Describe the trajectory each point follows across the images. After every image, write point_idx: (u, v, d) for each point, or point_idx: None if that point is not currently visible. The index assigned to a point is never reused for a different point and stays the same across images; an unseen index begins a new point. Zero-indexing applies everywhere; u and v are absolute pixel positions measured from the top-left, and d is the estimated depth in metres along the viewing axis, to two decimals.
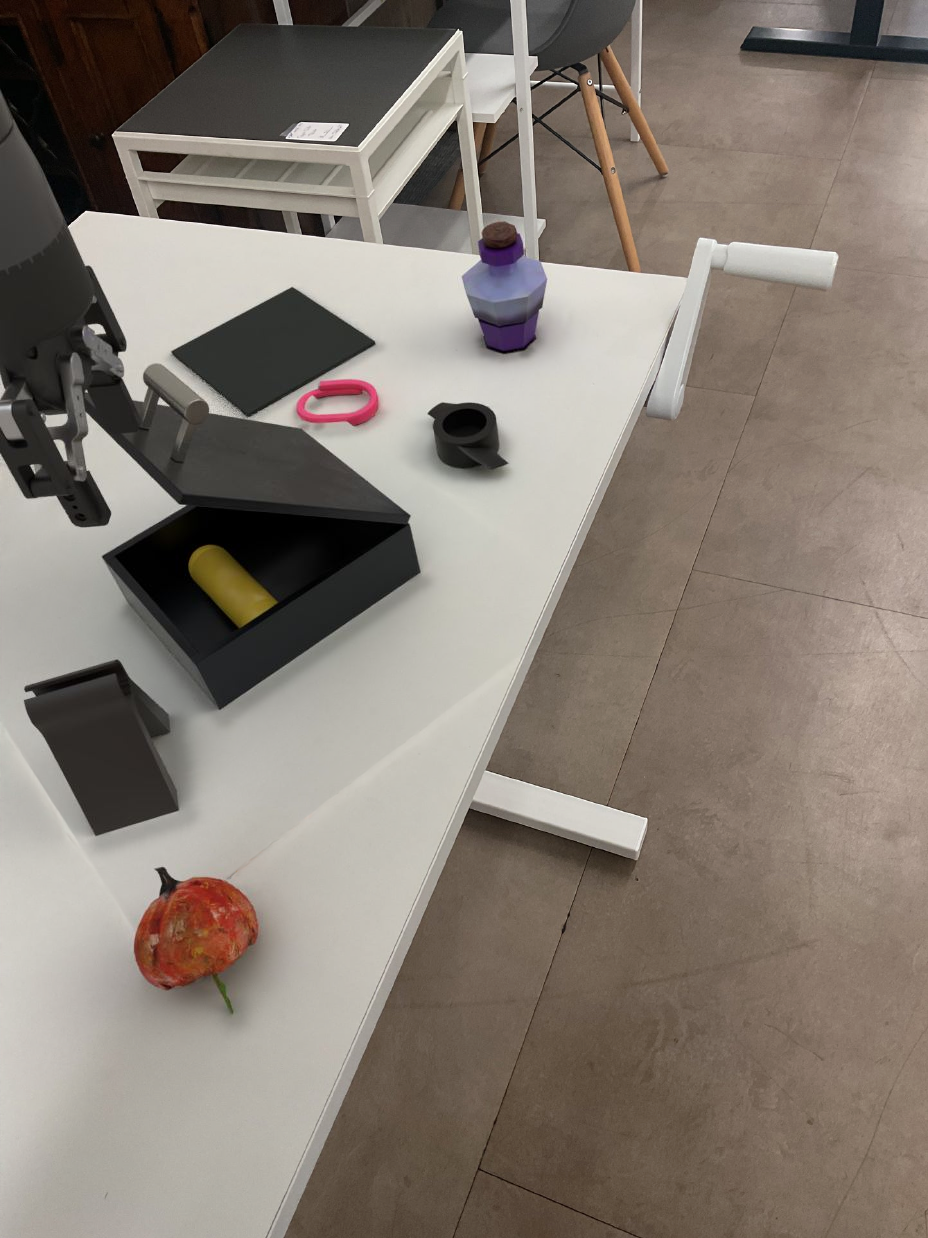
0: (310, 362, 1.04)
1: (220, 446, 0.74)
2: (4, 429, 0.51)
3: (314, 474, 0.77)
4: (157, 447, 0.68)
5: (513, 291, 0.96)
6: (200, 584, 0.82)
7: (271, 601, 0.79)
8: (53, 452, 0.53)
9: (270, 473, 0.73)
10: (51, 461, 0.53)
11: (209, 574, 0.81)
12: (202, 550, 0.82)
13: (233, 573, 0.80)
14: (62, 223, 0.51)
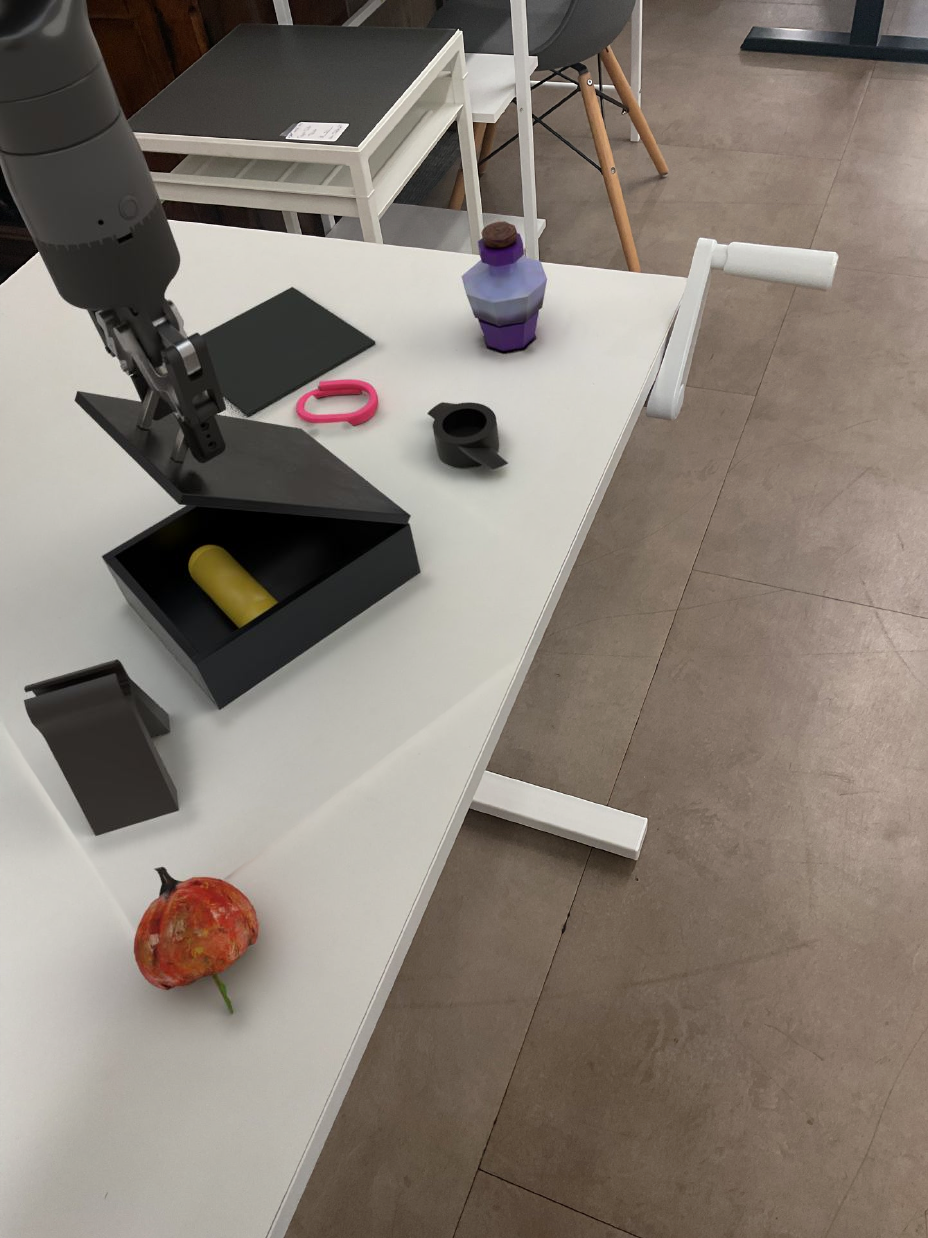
0: (310, 362, 1.04)
1: None
2: (187, 365, 0.59)
3: (314, 474, 0.77)
4: (157, 447, 0.68)
5: (513, 291, 0.96)
6: (200, 584, 0.82)
7: (271, 601, 0.79)
8: None
9: (270, 473, 0.73)
10: (217, 382, 0.62)
11: (209, 574, 0.81)
12: (202, 550, 0.82)
13: (233, 573, 0.80)
14: None
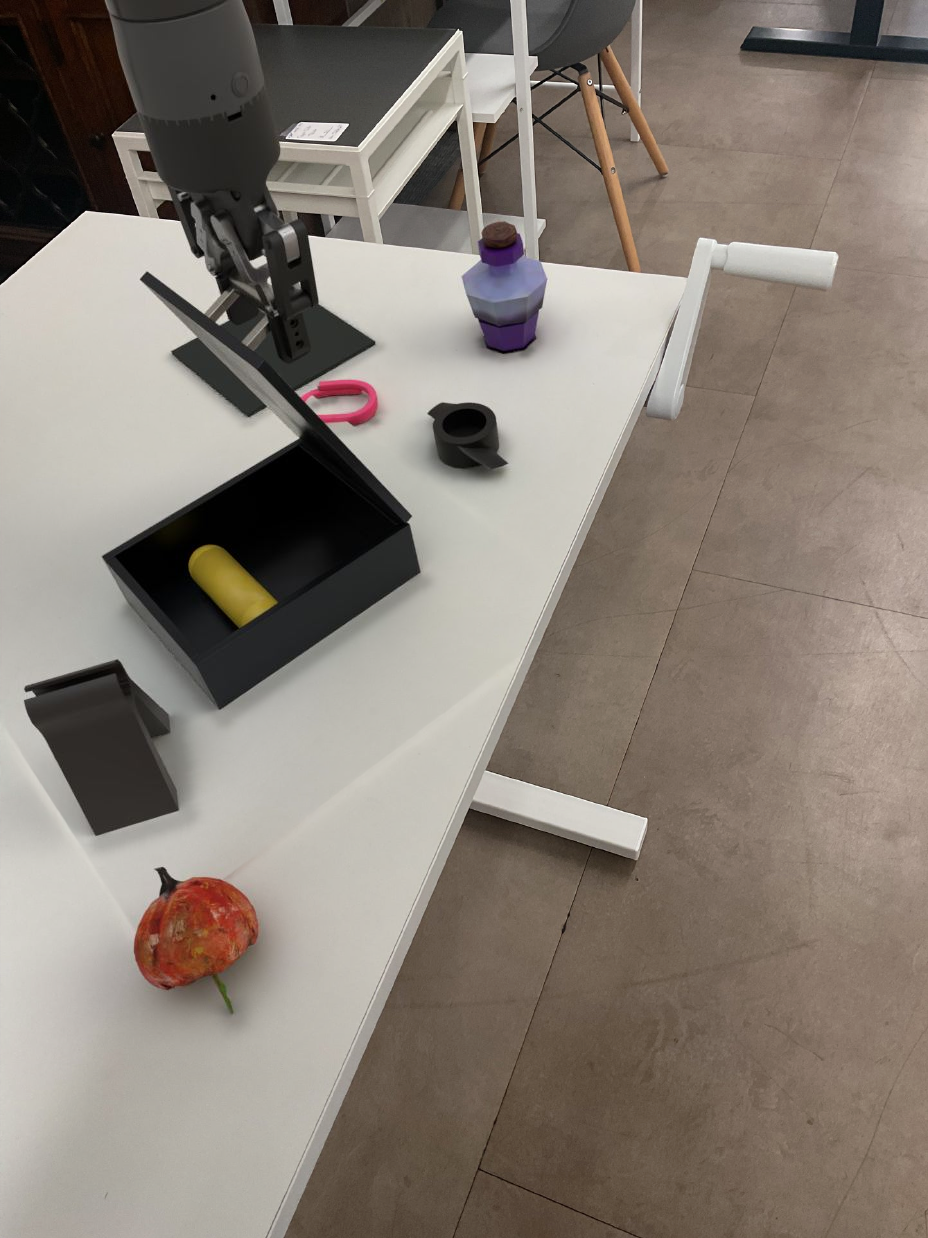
0: (310, 362, 1.04)
1: None
2: (288, 251, 0.60)
3: None
4: None
5: (513, 291, 0.96)
6: (200, 584, 0.82)
7: (271, 601, 0.79)
8: None
9: None
10: (313, 273, 0.62)
11: (209, 574, 0.81)
12: (202, 550, 0.82)
13: (233, 573, 0.80)
14: None
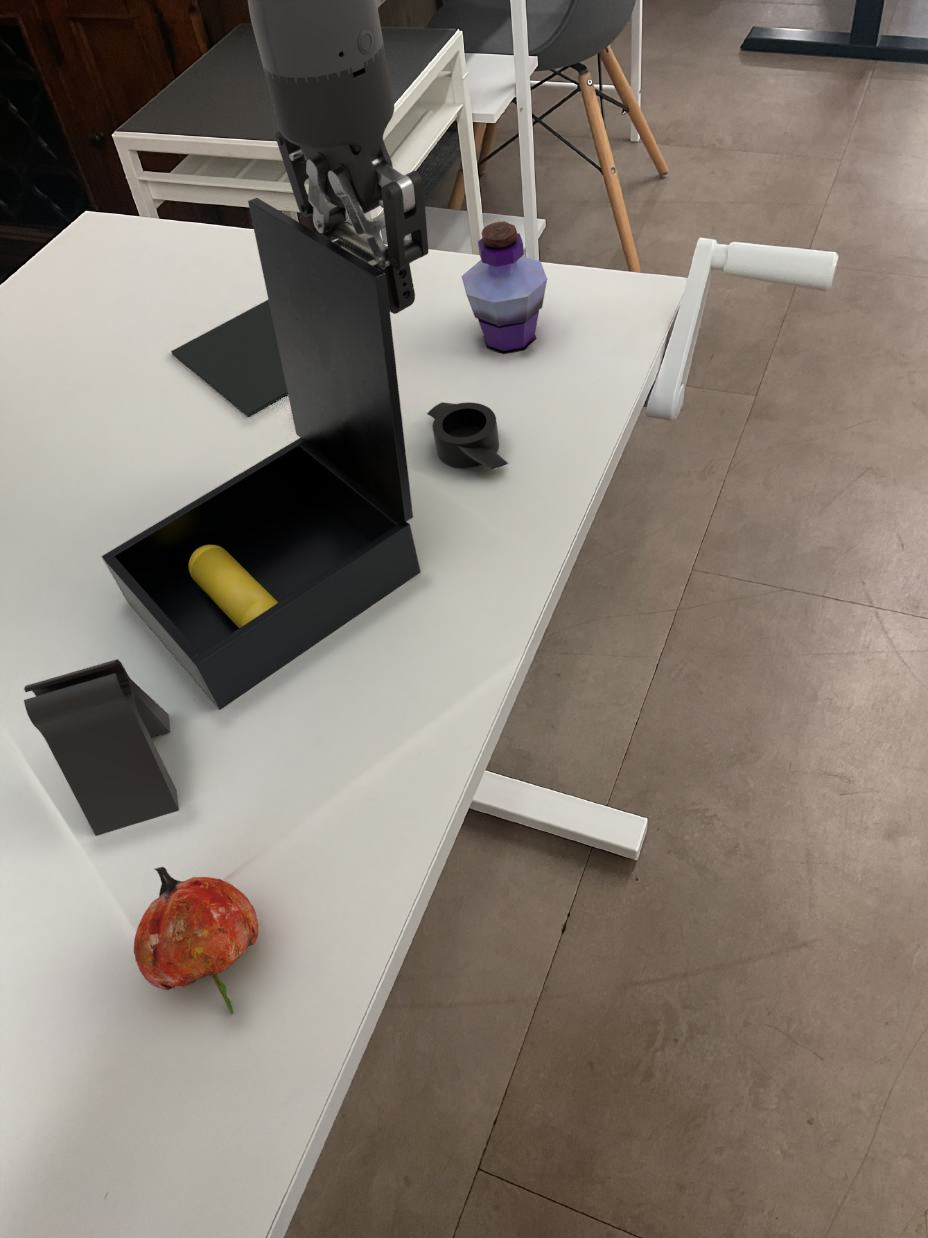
0: None
1: None
2: (405, 201, 0.63)
3: None
4: None
5: (513, 291, 0.96)
6: (200, 584, 0.82)
7: (271, 601, 0.79)
8: None
9: None
10: (425, 223, 0.66)
11: (209, 574, 0.81)
12: (202, 550, 0.82)
13: (233, 573, 0.80)
14: None
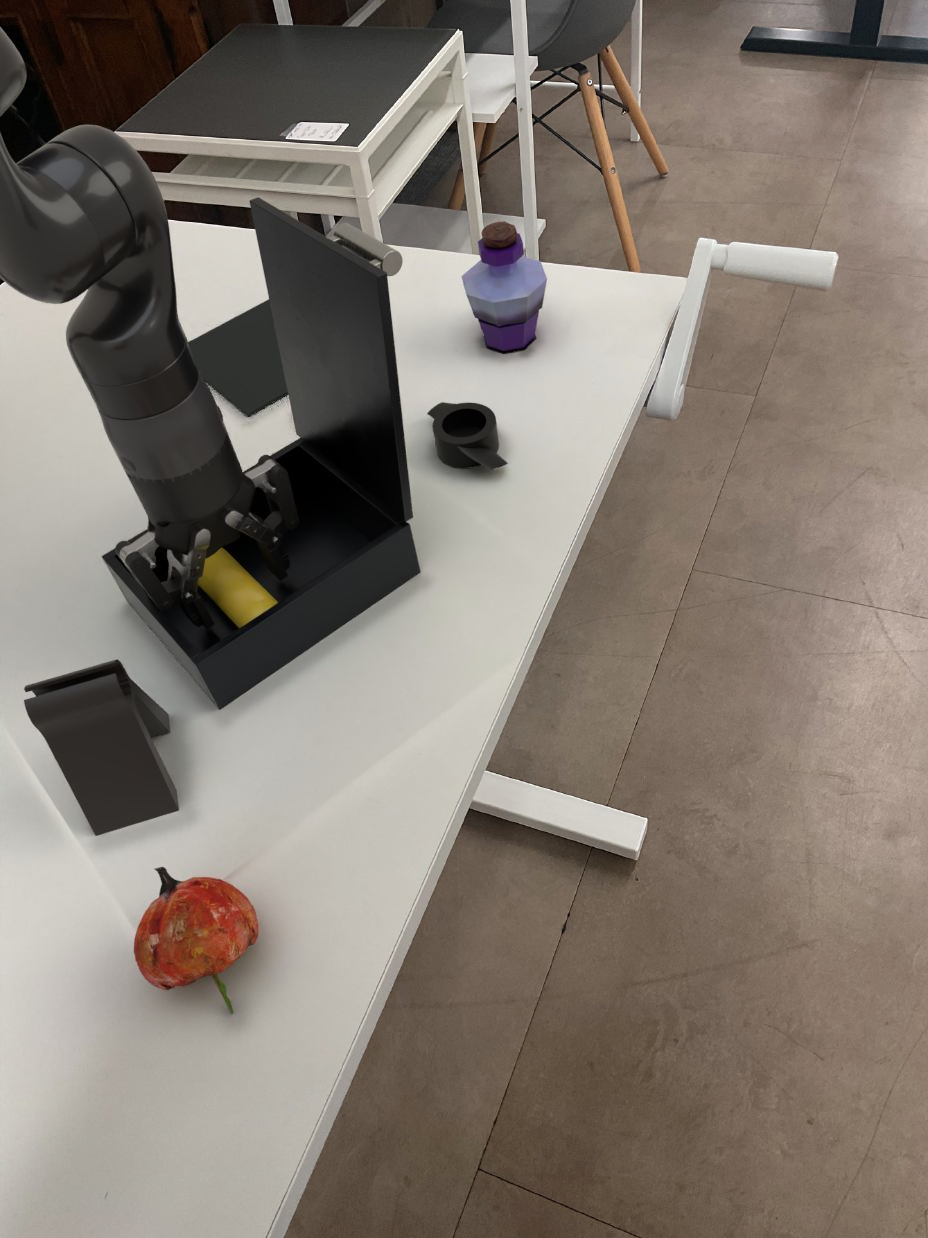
0: None
1: None
2: (124, 563, 0.73)
3: None
4: None
5: (513, 291, 0.96)
6: (200, 584, 0.82)
7: (271, 601, 0.79)
8: (154, 586, 0.74)
9: None
10: (148, 592, 0.74)
11: (209, 574, 0.81)
12: None
13: (233, 573, 0.80)
14: (206, 462, 0.68)
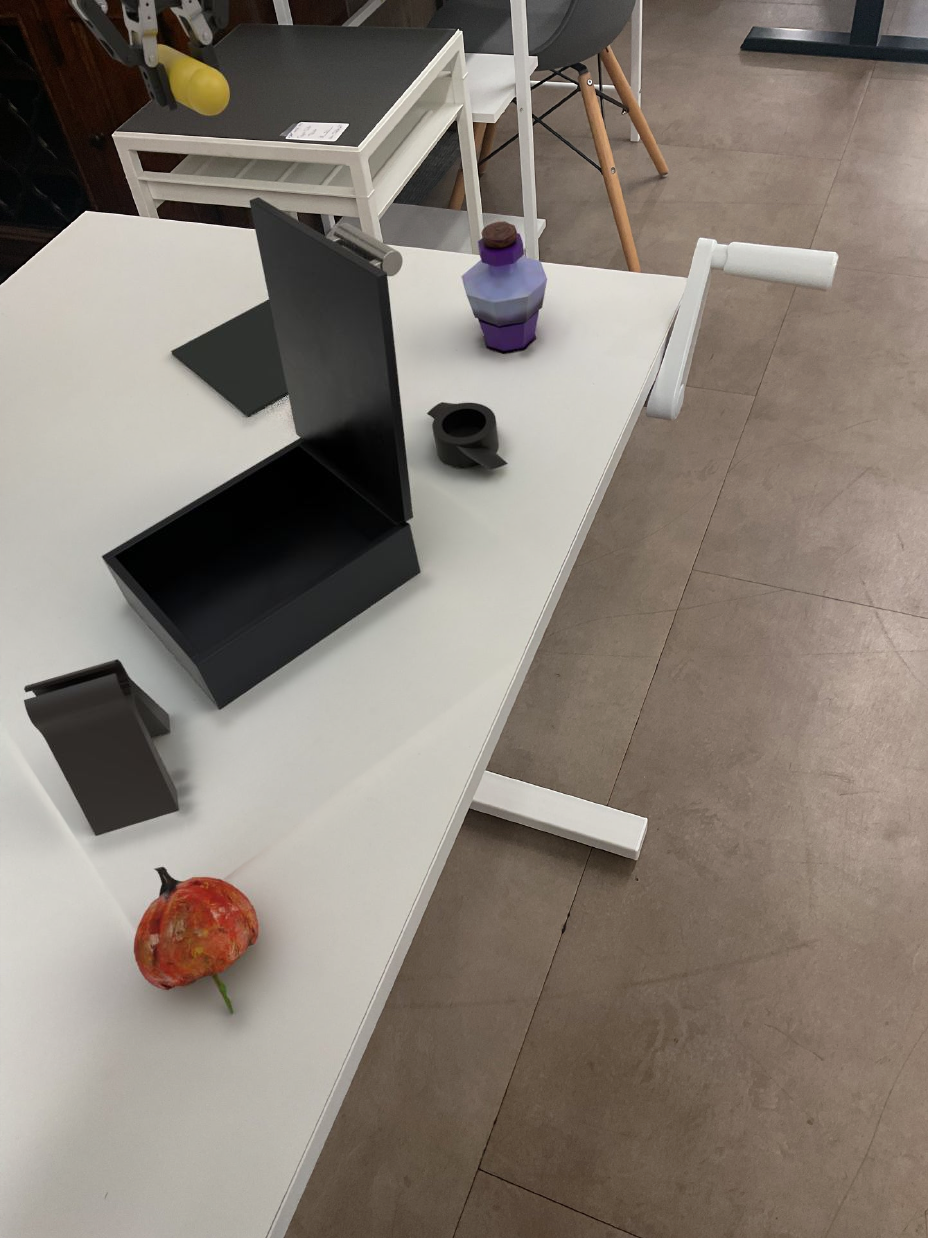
0: None
1: None
2: (79, 12, 0.78)
3: None
4: None
5: (513, 291, 0.96)
6: None
7: (216, 70, 0.82)
8: (112, 35, 0.79)
9: None
10: (108, 42, 0.79)
11: (159, 58, 0.84)
12: None
13: (181, 55, 0.84)
14: None
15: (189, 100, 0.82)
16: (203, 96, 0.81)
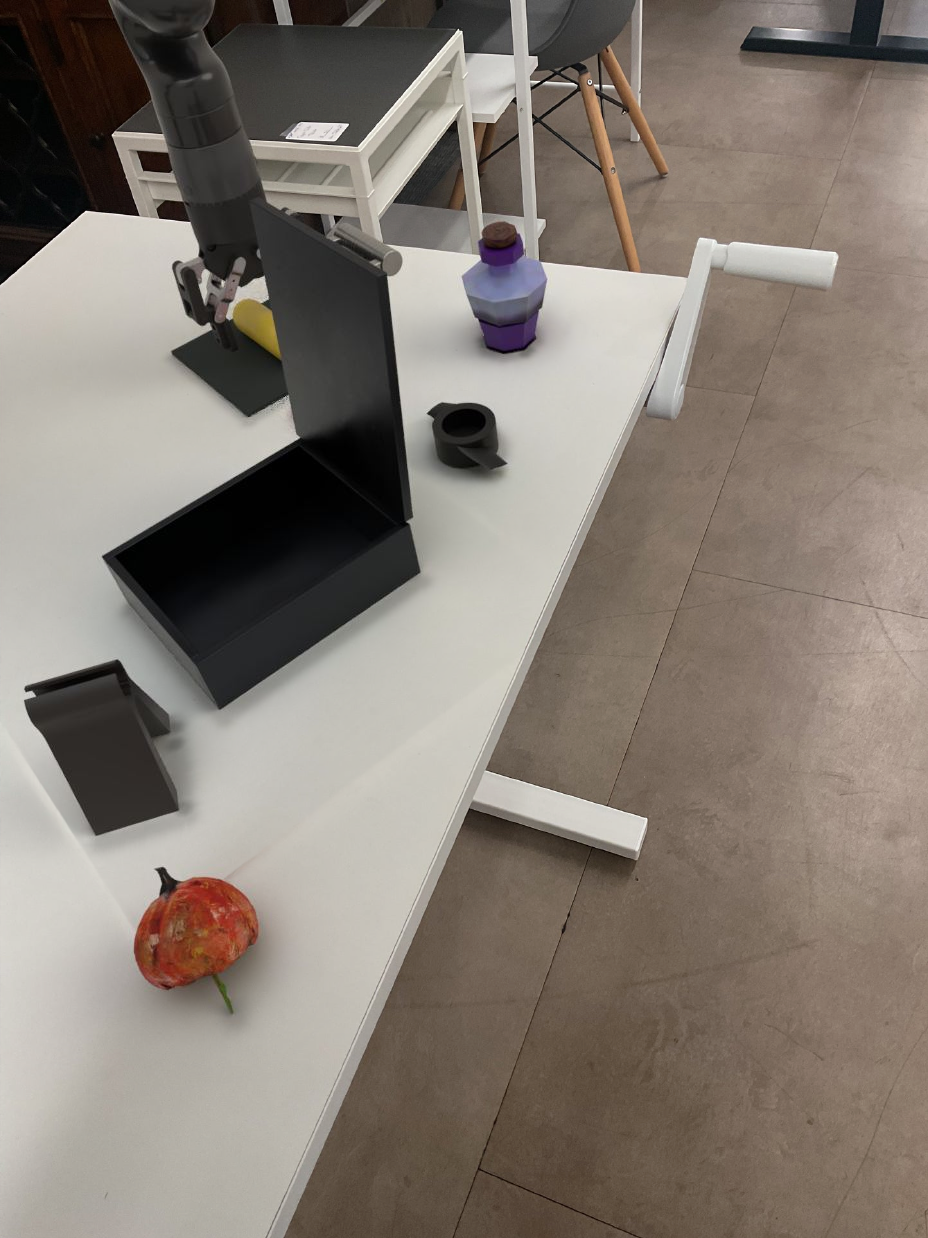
0: None
1: None
2: (178, 277, 0.96)
3: None
4: None
5: (513, 291, 0.96)
6: (242, 323, 1.06)
7: None
8: (197, 300, 0.97)
9: None
10: (192, 304, 0.97)
11: (251, 313, 1.05)
12: (245, 300, 1.07)
13: (270, 313, 1.05)
14: (245, 192, 0.92)
15: (275, 352, 1.03)
16: None
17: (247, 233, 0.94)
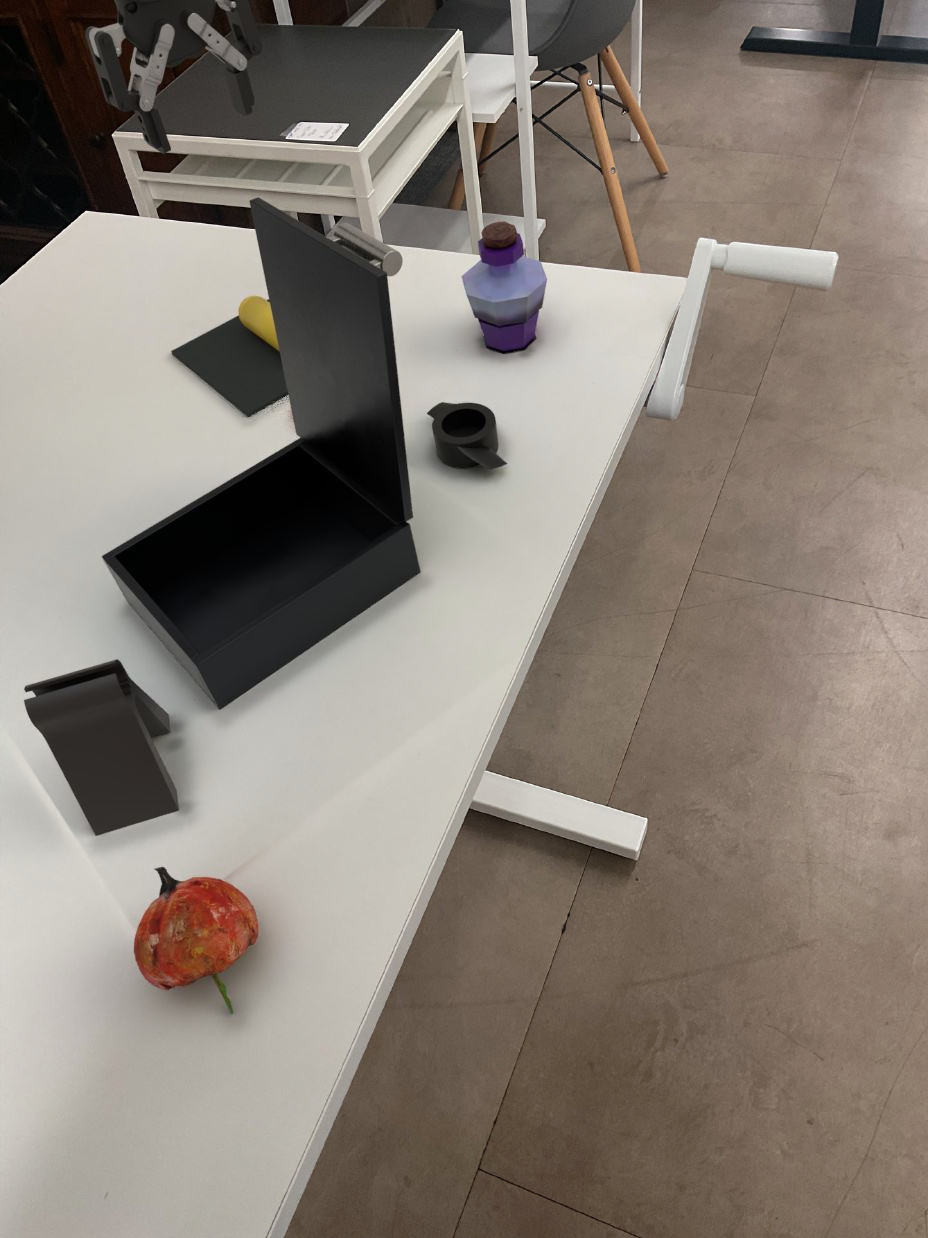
0: None
1: None
2: (92, 46, 0.81)
3: None
4: None
5: (513, 291, 0.96)
6: (249, 313, 1.06)
7: None
8: (117, 76, 0.82)
9: None
10: (111, 81, 0.82)
11: (262, 306, 1.06)
12: (257, 296, 1.08)
13: None
14: None
15: None
16: None
17: None
